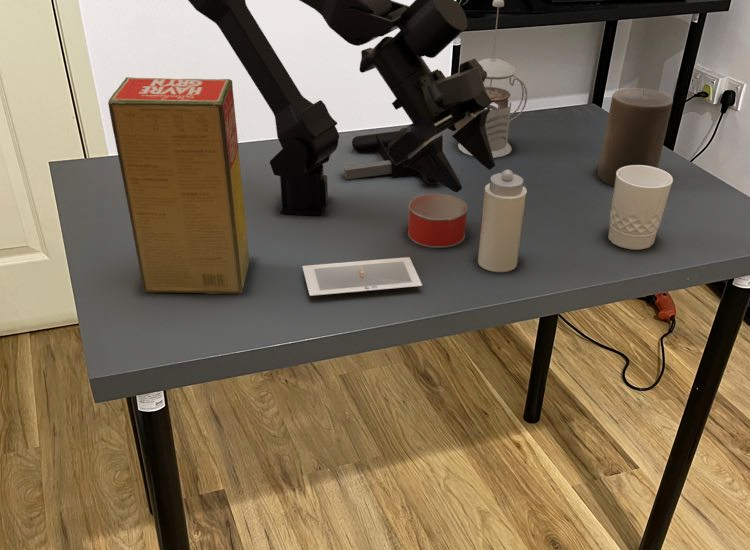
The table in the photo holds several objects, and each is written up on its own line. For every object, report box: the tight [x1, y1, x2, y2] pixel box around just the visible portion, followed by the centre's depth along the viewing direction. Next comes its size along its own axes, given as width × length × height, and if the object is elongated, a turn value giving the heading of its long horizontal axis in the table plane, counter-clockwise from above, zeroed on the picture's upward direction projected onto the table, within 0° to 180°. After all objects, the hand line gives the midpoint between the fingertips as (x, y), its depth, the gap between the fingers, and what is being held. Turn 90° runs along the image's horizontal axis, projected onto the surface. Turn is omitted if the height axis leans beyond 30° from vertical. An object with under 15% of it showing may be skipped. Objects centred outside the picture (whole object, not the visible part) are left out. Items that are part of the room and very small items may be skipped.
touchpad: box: [301, 256, 423, 297], centre depth 111 cm, size 8×15×2 cm, turn 102°
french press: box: [457, 0, 528, 159], centre depth 143 cm, size 10×12×25 cm
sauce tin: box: [407, 193, 468, 249], centre depth 122 cm, size 8×8×5 cm
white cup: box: [607, 165, 674, 251], centre depth 121 cm, size 8×8×10 cm
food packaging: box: [107, 77, 251, 295], centre depth 105 cm, size 13×9×25 cm
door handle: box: [343, 127, 439, 185], centre depth 142 cm, size 3×20×16 cm
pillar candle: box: [597, 87, 674, 187], centre depth 137 cm, size 10×10×15 cm
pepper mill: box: [477, 169, 528, 273], centre depth 113 cm, size 6×6×14 cm
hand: (476, 179), depth 112 cm, fingers open, 9 cm apart
